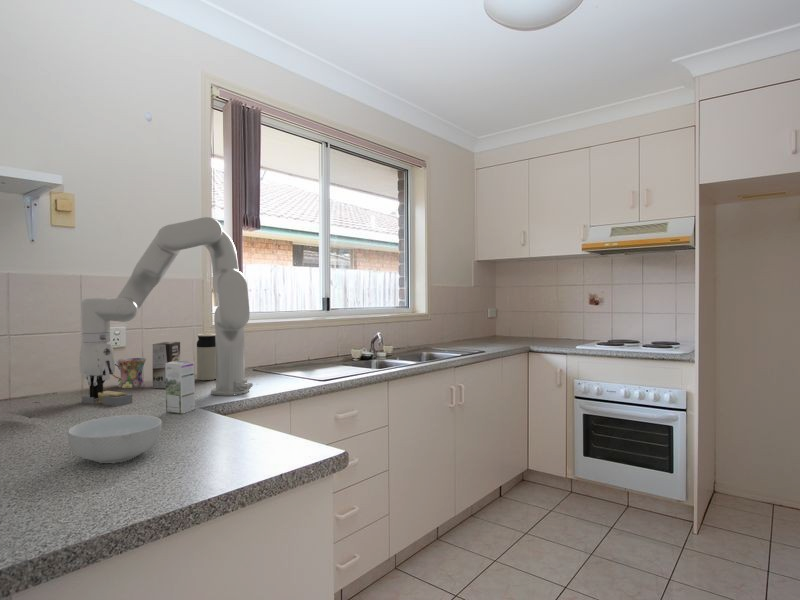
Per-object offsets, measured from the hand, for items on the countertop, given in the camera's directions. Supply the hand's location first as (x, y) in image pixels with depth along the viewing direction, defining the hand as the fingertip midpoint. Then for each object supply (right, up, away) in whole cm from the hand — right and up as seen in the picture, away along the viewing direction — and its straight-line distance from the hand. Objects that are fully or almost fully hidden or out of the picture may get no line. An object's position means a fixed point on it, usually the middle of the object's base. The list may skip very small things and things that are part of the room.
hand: (96, 397), depth 151 cm
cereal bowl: (+34, -3, -48) cm, 59 cm away
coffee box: (+7, -2, +31) cm, 32 cm away
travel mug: (+17, -2, +45) cm, 48 cm away
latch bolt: (+6, -1, -3) cm, 7 cm away
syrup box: (+30, -3, -8) cm, 31 cm away
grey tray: (+5, -2, -2) cm, 5 cm away
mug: (-4, -2, +25) cm, 25 cm away
